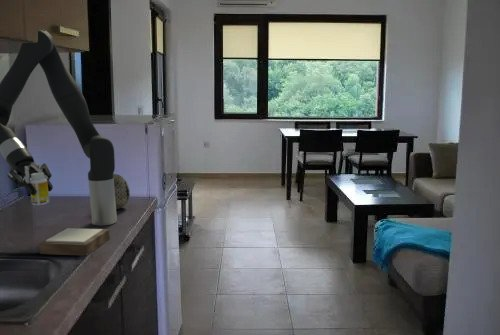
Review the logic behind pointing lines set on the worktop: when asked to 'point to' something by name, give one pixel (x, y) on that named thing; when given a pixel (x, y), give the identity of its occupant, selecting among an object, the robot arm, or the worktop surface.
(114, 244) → the worktop surface
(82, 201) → the worktop surface
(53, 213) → the worktop surface
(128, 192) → the decorative egg
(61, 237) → the walnut stand
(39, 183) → the supplement bottle
